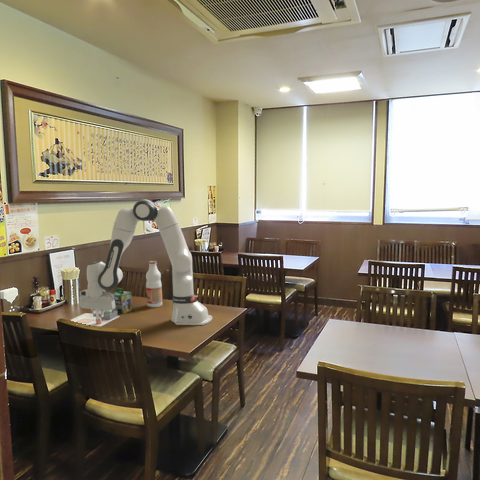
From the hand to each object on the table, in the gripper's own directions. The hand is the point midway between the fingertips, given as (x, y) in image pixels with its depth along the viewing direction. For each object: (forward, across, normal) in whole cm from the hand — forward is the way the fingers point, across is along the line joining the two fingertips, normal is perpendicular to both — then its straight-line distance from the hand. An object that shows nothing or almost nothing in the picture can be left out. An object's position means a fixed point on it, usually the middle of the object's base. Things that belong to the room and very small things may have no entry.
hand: (98, 316), depth 209 cm
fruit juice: (+5, -12, -39) cm, 41 cm away
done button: (+2, +1, -10) cm, 10 cm away
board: (+4, +8, -5) cm, 10 cm away
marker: (+4, 0, 0) cm, 4 cm away
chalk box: (+5, +1, -23) cm, 23 cm away
